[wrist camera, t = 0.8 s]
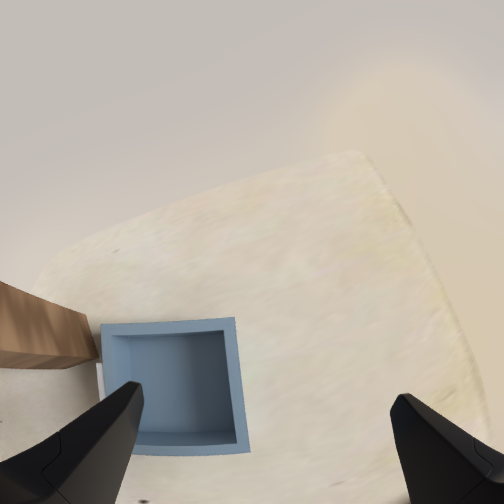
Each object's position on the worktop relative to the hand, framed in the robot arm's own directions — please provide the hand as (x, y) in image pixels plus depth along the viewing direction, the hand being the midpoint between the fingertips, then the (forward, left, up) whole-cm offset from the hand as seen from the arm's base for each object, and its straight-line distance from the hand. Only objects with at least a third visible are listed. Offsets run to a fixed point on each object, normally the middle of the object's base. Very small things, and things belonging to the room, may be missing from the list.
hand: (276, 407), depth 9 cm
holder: (-1, +6, -14) cm, 15 cm away
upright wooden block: (+2, +16, -14) cm, 21 cm away
